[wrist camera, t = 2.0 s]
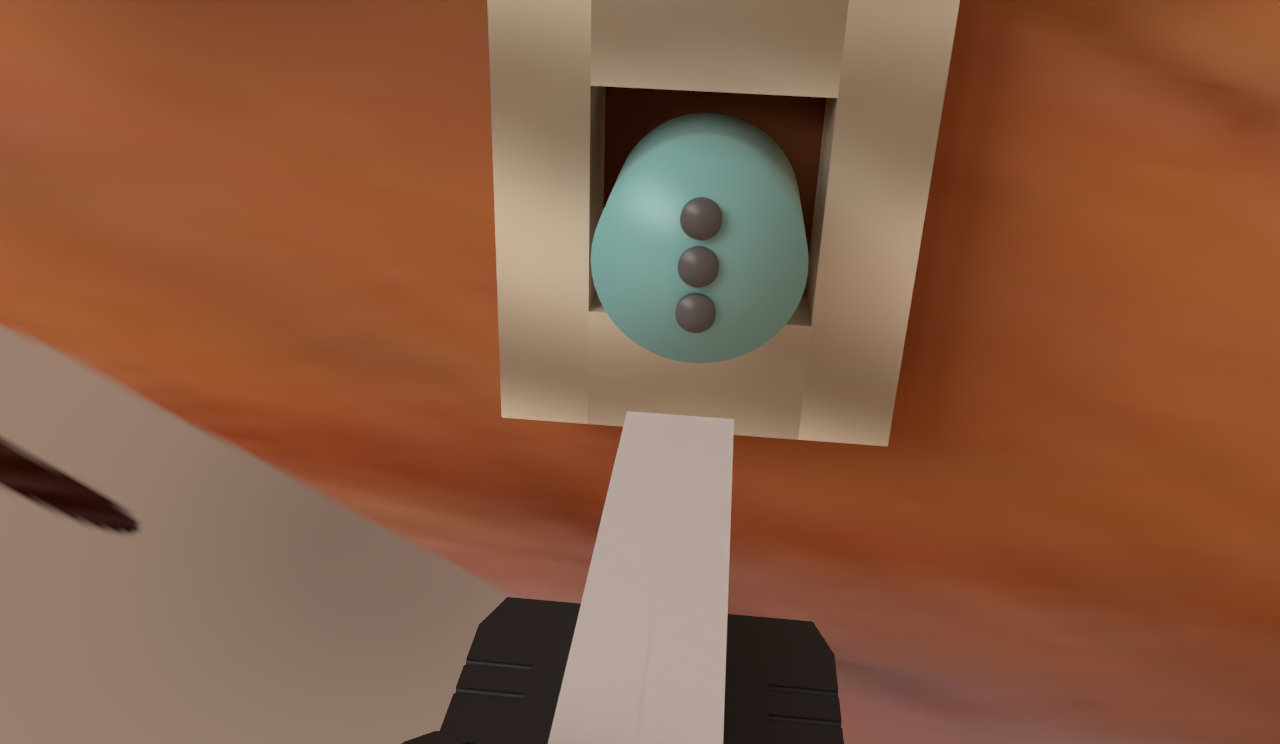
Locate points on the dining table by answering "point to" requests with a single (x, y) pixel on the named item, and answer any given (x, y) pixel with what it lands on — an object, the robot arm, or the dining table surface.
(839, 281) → the wooden compartment tray
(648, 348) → the button
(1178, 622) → the dining table surface
